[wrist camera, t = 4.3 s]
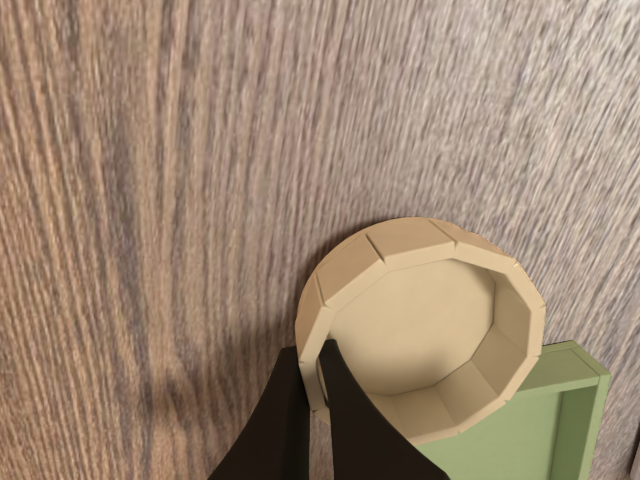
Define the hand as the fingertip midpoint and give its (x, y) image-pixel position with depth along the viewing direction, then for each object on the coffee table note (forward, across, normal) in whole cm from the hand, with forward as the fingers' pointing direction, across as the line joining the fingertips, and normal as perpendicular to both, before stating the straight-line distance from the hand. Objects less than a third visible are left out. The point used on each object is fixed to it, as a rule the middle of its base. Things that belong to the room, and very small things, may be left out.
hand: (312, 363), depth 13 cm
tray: (+4, -7, +12) cm, 15 cm away
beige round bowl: (+2, -4, 0) cm, 4 cm away
